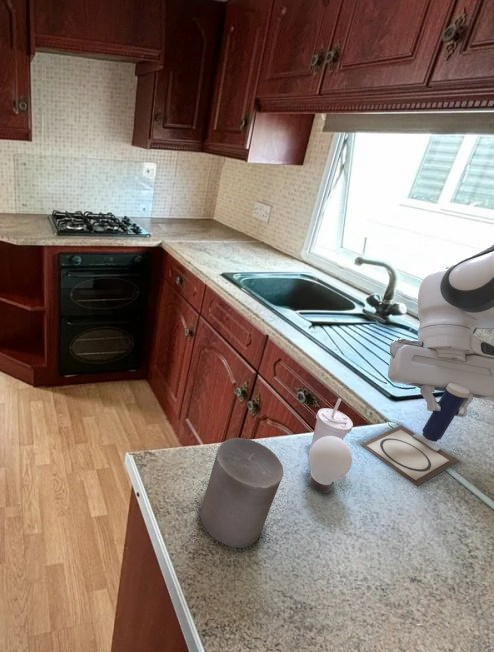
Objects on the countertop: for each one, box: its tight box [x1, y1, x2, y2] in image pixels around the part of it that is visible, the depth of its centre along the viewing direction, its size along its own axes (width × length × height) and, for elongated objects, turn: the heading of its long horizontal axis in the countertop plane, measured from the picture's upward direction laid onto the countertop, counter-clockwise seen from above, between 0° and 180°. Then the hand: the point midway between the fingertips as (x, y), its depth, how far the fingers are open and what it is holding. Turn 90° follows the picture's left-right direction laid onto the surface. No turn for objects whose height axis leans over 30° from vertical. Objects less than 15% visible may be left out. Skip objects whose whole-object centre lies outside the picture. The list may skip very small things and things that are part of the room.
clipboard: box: [359, 424, 460, 487], centre depth 85 cm, size 12×16×1 cm
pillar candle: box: [199, 437, 284, 549], centre depth 62 cm, size 10×10×15 cm
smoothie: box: [309, 398, 354, 450], centre depth 79 cm, size 6×6×14 cm
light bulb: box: [307, 436, 353, 494], centre depth 72 cm, size 7×7×11 cm
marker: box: [421, 383, 469, 443], centre depth 79 cm, size 3×3×12 cm
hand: (446, 413), depth 78 cm, fingers closed on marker, 3 cm apart
